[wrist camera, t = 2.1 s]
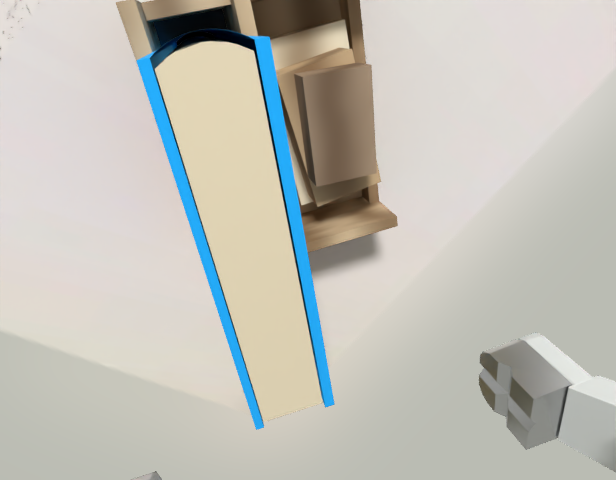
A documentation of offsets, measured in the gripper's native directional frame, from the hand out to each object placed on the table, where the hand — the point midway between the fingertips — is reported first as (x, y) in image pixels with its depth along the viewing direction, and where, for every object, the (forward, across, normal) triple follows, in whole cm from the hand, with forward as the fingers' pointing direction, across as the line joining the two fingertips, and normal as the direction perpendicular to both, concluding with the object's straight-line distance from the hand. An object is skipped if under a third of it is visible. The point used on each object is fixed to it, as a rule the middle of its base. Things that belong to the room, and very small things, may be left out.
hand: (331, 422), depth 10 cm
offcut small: (+25, -8, 0) cm, 26 cm away
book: (+32, 0, 0) cm, 32 cm away
